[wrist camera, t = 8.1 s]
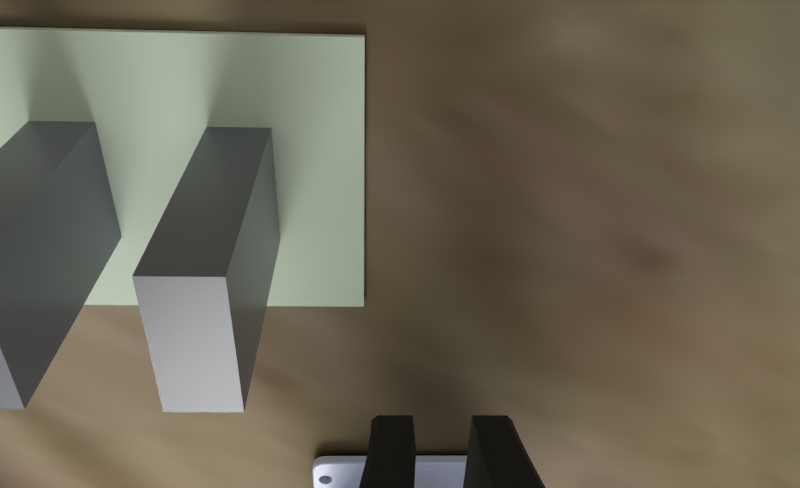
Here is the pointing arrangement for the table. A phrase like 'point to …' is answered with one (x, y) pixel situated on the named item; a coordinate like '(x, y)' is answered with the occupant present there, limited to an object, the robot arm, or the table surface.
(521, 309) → the table surface
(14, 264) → the tile
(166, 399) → the tile
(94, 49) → the felt strip
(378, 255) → the table surface
